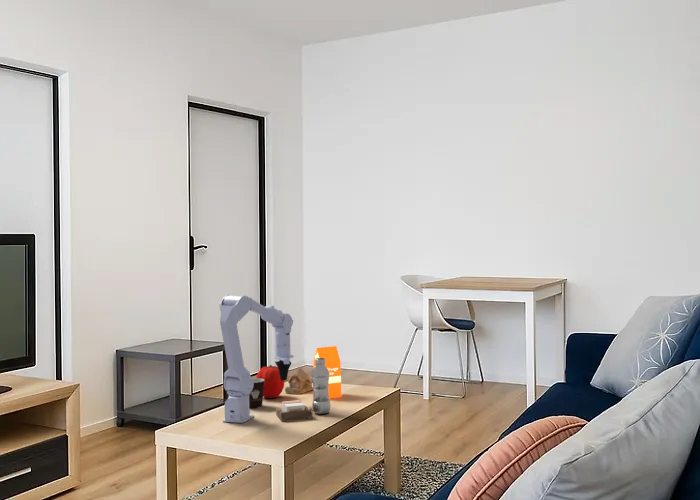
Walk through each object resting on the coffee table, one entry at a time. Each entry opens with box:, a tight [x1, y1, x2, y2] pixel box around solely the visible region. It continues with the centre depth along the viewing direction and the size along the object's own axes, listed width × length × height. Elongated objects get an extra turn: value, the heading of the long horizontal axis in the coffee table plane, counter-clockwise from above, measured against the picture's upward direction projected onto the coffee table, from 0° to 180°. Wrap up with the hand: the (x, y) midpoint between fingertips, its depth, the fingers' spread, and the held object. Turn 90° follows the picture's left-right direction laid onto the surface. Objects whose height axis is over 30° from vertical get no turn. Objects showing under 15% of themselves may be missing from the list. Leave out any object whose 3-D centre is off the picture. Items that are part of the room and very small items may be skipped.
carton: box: [281, 399, 306, 412], centre depth 258 cm, size 8×6×5 cm
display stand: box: [275, 405, 313, 422], centre depth 258 cm, size 10×11×3 cm
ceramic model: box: [284, 366, 314, 395], centre depth 302 cm, size 14×11×10 cm
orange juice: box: [312, 345, 342, 399], centre depth 290 cm, size 8×9×20 cm
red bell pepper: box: [256, 364, 285, 399], centre depth 290 cm, size 12×12×13 cm
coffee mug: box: [249, 377, 264, 410], centre depth 275 cm, size 12×9×10 cm
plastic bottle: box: [310, 358, 331, 415], centre depth 262 cm, size 6×7×20 cm
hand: (283, 380), depth 275 cm, fingers closed
